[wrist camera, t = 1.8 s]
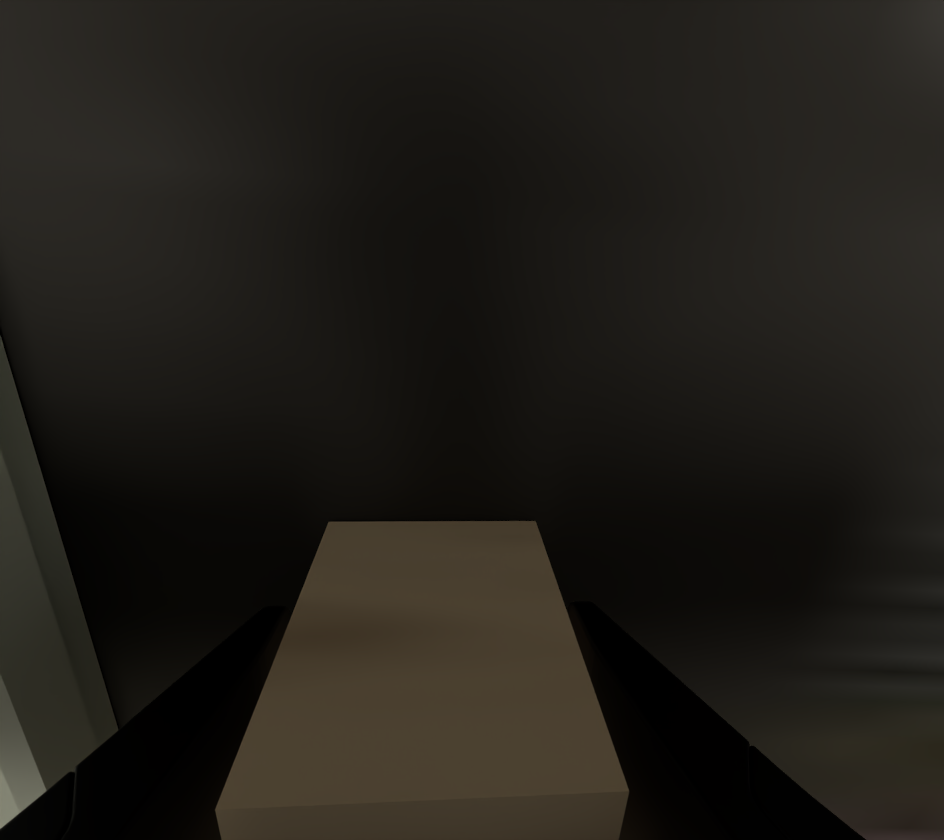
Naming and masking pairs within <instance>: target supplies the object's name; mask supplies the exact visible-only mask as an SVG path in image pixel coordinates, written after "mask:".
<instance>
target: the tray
mask: <svg viewBox="0 0 944 840" xmlns="http://www.w3.org/2000/svg"><path fill="white" fill-rule="evenodd" d="M117 731H118V727H117V723H116V720H115V717H114V713H113V710H112V707H111V703H110V700H109V696H108V693H107V690H106V686H105V683H104V680H103V676H102V673H101V670H100V666H99V663H98V660H97V656H96V653H95V650H94V646H93V643H92V640H91V636H90V633H89V630H88V626H87V623H86V620H85V616H84V613H83V610H82V606H81V603H80V600H79V596H78V593H77V590H76V586H75V583H74V580H73V576H72V573H71V570H70V566H69V563H68V559H67V556H66V553H65V549H64V546H63V543H62V539H61V536H60V533H59V529H58V526H57V523H56V519H55V516H54V513H53V509H52V506H51V503H50V499H49V496H48V493H47V489H46V486H45V483H44V479H43V476H42V473H41V469H40V466H39V463H38V459H37V456H36V453H35V449H34V446H33V443H32V439H31V436H30V433H29V429H28V426H27V422H26V419H25V416H24V412H23V409H22V406H21V402H20V399H19V396H18V392H17V389H16V386H15V382H14V379H13V376H12V372H11V369H10V366H9V362H8V359H7V356H6V352H5V349H4V346H3V342H2V339H1V336H0V828H2V827H3V826H4V825H5V824H7V823H8V822H9V821H10V820H11V819H13V818H14V817H15V816H16V815H18V814H19V813H20V812H21V811H22V810H24V809H25V808H26V807H27V806H29V805H30V804H31V803H32V802H33V801H35V800H36V799H37V798H38V797H40V796H41V795H42V794H43V793H44V792H45V791H47V790H48V789H49V788H50V787H51V786H53V785H54V784H55V783H56V782H57V781H58V780H60V779H61V778H62V777H63V776H64V775H66V774H67V773H68V772H70V771H72V772H74V769H75V767H76V766H77V765H78V764H79V763H80V762H81V761H82V760H84V759H85V758H86V757H87V756H88V755H90V754H91V753H92V752H93V751H94V750H95V749H97V748H98V747H99V746H100V745H101V744H103V743H104V742H105V741H106V740H107V739H108V738H110V737H111V736H112V735H113V734H114V733H116V732H117Z"/></svg>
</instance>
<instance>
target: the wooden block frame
mask: <svg viewBox="0 0 944 840" xmlns="http://www.w3.org/2000/svg"><path fill="white" fill-rule="evenodd" d="M628 795H629V789H628V786H627V783H626V780H625V778H624V775H623V772H622V769H621V766H620V763H619V760H618V757H617V754H616V752H615V749H614V746H613V743H612V740H611V737H610V734H609V731H608V729H607V726H606V723H605V720H604V717H603V714H602V711H601V708H600V705H599V703H598V700H597V697H596V694H595V691H594V688H593V685H592V682H591V679H590V677H589V674H588V671H587V668H586V665H585V662H584V659H583V656H582V653H581V651H580V648H579V645H578V642H577V639H576V636H575V633H574V630H573V628H572V625H571V622H570V619H569V616H568V613H567V610H566V607H565V604H564V602H563V599H562V596H561V593H560V590H559V587H558V584H557V581H556V578H555V576H554V573H553V570H552V567H551V564H550V561H549V558H548V555H547V552H546V550H545V547H544V544H543V541H542V538H541V535H540V532H539V529H538V527H537V524H536V521H375V522H328V525H327V527H326V530H325V532H324V535H323V537H322V540H321V542H320V545H319V547H318V550H317V552H316V555H315V558H314V560H313V563H312V565H311V568H310V570H309V573H308V575H307V578H306V580H305V583H304V585H303V588H302V591H301V593H300V596H299V598H298V601H297V603H296V606H295V608H294V611H293V613H292V616H291V618H290V621H289V623H288V626H287V629H286V631H285V634H284V636H283V639H282V641H281V644H280V646H279V649H278V651H277V654H276V656H275V659H274V662H273V664H272V667H271V669H270V672H269V674H268V677H267V679H266V682H265V684H264V687H263V689H262V692H261V694H260V697H259V700H258V702H257V705H256V707H255V710H254V712H253V715H252V717H251V720H250V722H249V725H248V727H247V730H246V733H245V735H244V738H243V740H242V743H241V745H240V748H239V750H238V753H237V755H236V758H235V760H234V763H233V766H232V768H231V771H230V773H229V776H228V778H227V781H226V783H225V786H224V788H223V791H222V793H221V796H220V798H219V801H218V804H217V806H216V809H215V812H216V817H217V821H218V826H219V830H220V835H221V839H222V840H619V836H620V831H621V827H622V822H623V817H624V813H625V808H626V804H627V799H628Z"/></svg>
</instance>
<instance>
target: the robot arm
mask: <svg viewBox="0 0 944 840" xmlns="http://www.w3.org/2000/svg"><path fill="white" fill-rule="evenodd" d="M568 616H569V619H570V622H571V625H572V628H573V630H574V633H575V636H576V639H577V642H578V645H579V648H580V651H581V653H582V656H583V659H584V662H585V665H586V668H587V671H588V674H589V677H590V679H591V682H592V685H593V688H594V691H595V694H596V697H597V700H598V703H599V705H600V708H601V711H602V714H603V717H604V720H605V723H606V726H607V729H608V731H609V734H610V737H611V740H612V743H613V746H614V749H615V752H616V754H617V757H618V760H619V763H620V766H621V769H622V772H623V775H624V778H625V780H626V783H627V786H628V789H629V795H628V799H627V804H626V808H625V813H624V817H623V822H622V827H621V831H620V836H619V840H866V839H864V838H863V837H862V836H861V835H859V834H858V833H857V832H855V831H854V830H853V829H852V828H850V827H849V826H848V825H847V824H845V823H844V822H843V821H842V820H841V819H839V818H838V817H837V816H836V815H834V814H833V813H832V812H831V811H829V810H828V809H827V808H826V807H824V806H823V805H822V804H821V803H819V802H818V801H817V800H816V799H814V798H813V797H812V796H811V795H810V794H808V793H807V792H806V791H805V790H804V789H803V788H801V787H800V786H799V785H798V784H797V783H796V782H794V781H793V780H792V779H791V778H790V777H789V776H787V775H786V774H785V773H784V772H783V771H782V770H780V769H779V768H778V767H777V766H776V765H775V764H774V763H772V762H771V761H770V760H769V759H768V758H767V757H766V756H765V755H763V754H762V753H761V752H760V751H759V750H758V749H757V748H756V747H754V746H749V742H748V740H746V739H745V738H744V737H743V736H742V735H741V734H740V733H739V732H737V731H736V730H735V729H734V728H733V727H732V726H731V725H730V724H728V723H727V722H726V721H725V720H724V719H723V718H722V717H721V716H719V715H718V714H717V713H716V712H715V711H714V710H713V709H712V708H711V707H709V706H708V705H707V704H706V703H705V702H704V701H703V700H702V699H700V698H699V697H698V696H697V695H696V694H695V693H694V692H693V691H691V690H690V689H689V688H688V687H687V686H686V685H685V684H684V683H682V682H681V681H680V680H679V679H678V678H677V677H676V676H675V675H673V674H672V673H671V672H670V671H669V670H668V669H667V668H666V667H665V666H663V665H662V664H661V663H660V662H659V661H658V660H657V659H656V658H654V657H653V656H652V655H651V654H650V653H649V652H648V651H647V650H645V649H644V648H643V647H642V646H641V645H640V644H639V643H638V642H636V641H635V640H634V639H633V638H632V637H631V636H630V635H629V634H628V633H626V632H625V631H624V630H623V629H622V628H621V627H620V626H619V625H617V624H616V623H615V622H614V621H613V620H612V619H611V618H610V617H608V616H607V615H606V614H605V613H604V612H603V611H602V610H601V609H599V608H598V607H597V606H596V605H595V604H594V603H592V602H572V603H570V605H569V607H568ZM290 618H291V616H290V611H289V609H288V608H287V607H286V606H267V607H264V608H262V609H261V610H260V611H258V612H257V613H256V614H255V615H254V616H253V617H251V618H250V619H249V620H248V621H247V622H245V623H244V624H243V625H242V626H241V627H240V628H238V629H237V630H236V631H235V632H234V633H233V634H231V635H230V636H229V637H228V638H227V639H225V640H224V641H223V642H222V643H221V644H220V645H218V646H217V647H216V648H215V649H214V650H212V651H211V652H210V653H209V654H208V655H207V656H205V657H204V658H203V659H202V660H201V661H199V662H198V663H197V664H196V665H195V666H194V667H192V668H191V669H190V670H189V671H188V672H186V673H185V674H184V675H183V676H182V677H181V678H179V679H178V680H177V681H176V682H175V683H173V684H172V685H171V686H170V687H169V688H168V689H166V690H165V691H164V692H163V693H162V694H160V695H159V696H158V697H157V698H156V699H155V700H153V701H152V702H151V703H150V704H149V705H147V706H146V707H145V708H144V709H143V710H142V711H140V712H139V713H138V714H137V715H136V716H134V717H133V718H132V719H131V720H130V721H129V722H127V723H126V724H125V725H124V726H123V727H121V728H120V729H119V730H118V731H117V732H116V733H114V734H113V735H112V736H111V737H110V738H108V739H107V740H106V741H105V742H104V743H103V744H101V745H100V746H99V747H98V748H97V749H95V750H94V751H93V752H92V753H91V754H90V755H88V756H87V757H86V758H85V759H84V760H82V761H81V762H80V763H79V764H78V765H77V766H76V767H75V769H74V772H72V771H70V772H68V773H67V774H66V775H64V776H63V777H62V778H61V779H60V780H58V781H57V782H56V783H55V784H54V785H53V786H51V787H50V788H49V789H48V790H47V791H45V792H44V793H43V794H42V795H41V796H40V797H38V798H37V799H36V800H35V801H33V802H32V803H31V804H30V805H29V806H27V807H26V808H25V809H24V810H22V811H21V812H20V813H19V814H18V815H16V816H15V817H14V818H13V819H11V820H10V821H9V822H8V823H7V824H5V825H4V826H3V827H2V828H0V840H222V839H221V835H220V830H219V826H218V821H217V817H216V812H215V809H216V806H217V804H218V801H219V798H220V796H221V793H222V791H223V788H224V786H225V783H226V781H227V778H228V776H229V773H230V771H231V768H232V766H233V763H234V760H235V758H236V755H237V753H238V750H239V748H240V745H241V743H242V740H243V738H244V735H245V733H246V730H247V727H248V725H249V722H250V720H251V717H252V715H253V712H254V710H255V707H256V705H257V702H258V700H259V697H260V694H261V692H262V689H263V687H264V684H265V682H266V679H267V677H268V674H269V672H270V669H271V667H272V664H273V662H274V659H275V656H276V654H277V651H278V649H279V646H280V644H281V641H282V639H283V636H284V634H285V631H286V629H287V626H288V623H289V621H290Z"/></svg>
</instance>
